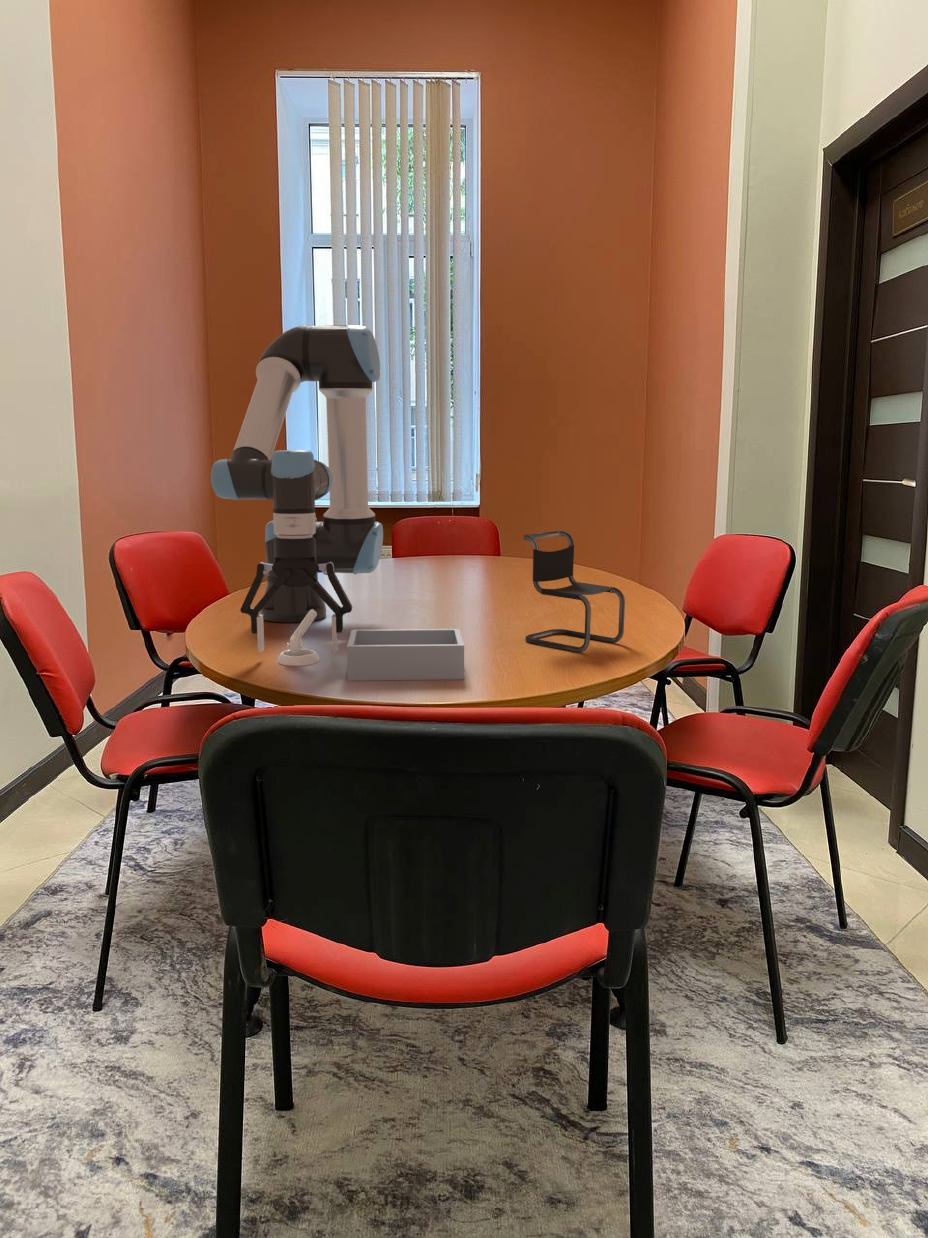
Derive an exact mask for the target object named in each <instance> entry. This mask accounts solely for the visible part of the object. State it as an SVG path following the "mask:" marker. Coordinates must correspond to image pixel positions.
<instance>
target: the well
mask: <svg viewBox="0 0 928 1238" xmlns="http://www.w3.org/2000/svg"><path fill="white" fill-rule="evenodd" d="M346 657H347V658H346V661H347V665H346V669H347V681H349V682H350V681H353V682H355V681H358V682H360V681H425V680H427V681H432V680H435V681H436V680H438V681H439V680H440V681H442V680H446V681H447V680H465V643H464V640H463V637H462V633H461V630H460V629H459V628H419V629H418V628H417V629H416V628H414V629H413V628H411V629H410V628H409V629H408V628H404V629H401V628H400V629H397V628H396V629H393V628H392V629H391V628H390V629H388V628H387V629H385V628H384V629H383V628H382V629H351V630H350V634H349V638H348V641H347V645H346Z"/></svg>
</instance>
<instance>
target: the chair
mask: <svg viewBox="0 0 928 1238" xmlns="http://www.w3.org/2000/svg"><path fill="white" fill-rule="evenodd" d="M553 537H564V538H566V540H567V543H568V547H566V548H563V549H560V550H553V551H551V550H550V551H543V550H540V549H539V543H538V542H537V539H544V538H553ZM522 538H523V540H524V541H527V542H530V543H531V545H532V547H533V548H532V584H533V586H534V588H535V590H536V591H537V592H538V593H539V594H541V595H544V596H551V597H557V598H565V599H570V600H577V601H578V600H579V601H581V602H582V604H583V605H584V607H585V608H584V609H585V610H584V611H585V612H584V613H585V614H584V632H583V631H582V632H581V631H576V630H575V631H574V630H569V629H564V628H561V629H560V628H556V629H547V630H544V631H540V632H536V633H531V634H530V633H529V634H528V635H526V636H525V637H524V638H525V641H526V642H527V643H529V644H533V645H539V646H543V647H549V648H554V649H558V650H563V649H566V650H565V651H568V650H570V651H569V652H573V651H575V652H574V653H583V652H585V651H586V650H587V649H588V648H589V646H590V642H591V640H593V641H597V642H605V643H610V644H616V643H618V642H620V641H621V640H622V638H623V636H624V632H625V607H626V600H625V599H626V598H625V596H624V593H623V592H622V591H621V589H618V588H617V587H615V586H614V587H613V586H607V585H601V584H595V583H594V584H593V583H586V582H581V581H580V582H579V581H576V579H575V577H574V559H575V558H574V557H575V543H574V539H573V537H572V535H571V534H570V533H569V532H567V531H565V530H564V531H563V530H557V531H555V530H554V531H548V532H547V531H546V532H536V533H527V534H524V535H523V537H522ZM566 578H568V581H569V583H570V585H568V586H563V587H559V588H542V587H541V586H540V582H541V583H542V582H552V581H558V580H562V579H566ZM602 593H609V594H610V593H612V594H615V595H616V596H617V597H618V601H619V606H618V607H619V609H618V610H619V611H618V633H617V635H616V636H615V637H611V636H610V637H609V636H604V635H598V634H592V633H591V623H592V621H591V619H592V608H591V607H592V606H591V603H590V601H589V598H587V597H586V596H592V595H598V594H602ZM552 635H566V636H571V637H577V638H582V639H584V641H583V644H582V645H581V646H575V645H570V644H565V643H560V642H554V641H551V640H550V641H549V640H544V639H540V638H542V637H547V636H548V637H549V636H552Z"/></svg>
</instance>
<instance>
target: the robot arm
mask: <svg viewBox="0 0 928 1238" xmlns="http://www.w3.org/2000/svg"><path fill="white" fill-rule="evenodd" d="M379 355H380V354H379V350H378V345H377V342H376V339H375V336H374V334H373V332H372V330H371V329H370V328H368V327H367V326H365V325H364V326H363V325H353V324H352V325H351V324H345V325H344V324H342V325H339V324H338V325H336V324H335V325H299V326H295V327H292V328H290V329H288V330H286V331H285V332H283V333H281V334H280V335H278V337H276V338H275V339H274V340H273V341H272V342H271V343H270V344H268V346H267V347H266V349H265V350H264V351H263V353H262V354H261V356H260V358H259V359H258V362H257V365H256V369H255V376H256V380H257V381H256V384H255V387H254V390H253V392H252V395H251V398H250V401H249V404H248V407H247V410H246V412H245V416H244V418H243V422H242V425H241V427H240V430H239V433H238V437H237V438H236V442H235V445H234V448H233V450H232V453H231V455H230V458H229V459H228V458H224V459H218V460H216V461H215V462H214V463H213V465H212V467H211V473H210V480H211V481H210V482H211V486H212V489H213V492H214V494H215V495H216V496H217V497H218V498H221V499H224V500H225V499H226V500H227V499H228V500H236V501H239V500H272V511H273V513H272V514H273V518H272V519H273V520H270V521H268V522H267V524H266V525H265V528H264V529H265V533H264V535H265V537H264V539H265V540H264V541H263V542H264V543H265V544H264V546H265V547H264V548H265V562H264V561H260V562H259V563H257V565H256V575H255V577H254V580H253V582H252V584H251V586H250V588H249V590H248V592H247V594H246V596H245V599H244V601H243V603H242V604H241V606H240V607H241V608H240V609H239V611H240V613H242V614H246V615H248V616H250V624H251V626H250V627H251V628H250V629H251V633H252V634H256V636H257V637H256V638H257V652H258V653H262V652H263V651H264V650H265V631H264V629H265V628H264V621H267V622H273V623H301V622H302V621H303V619H304V618H305V616H306V615H307V614H308V612H309V611H310V610H311V609H313V610H314V611H316V613H317V616H316V617H315V619H314V621H318V620H321V619H324V618H326V617H327V607H328V608H329V609H330V610H331V611H332V612H333V614H332V615H331V643H332V644H331V648H332V650H331V651H332V652H337V651H338V634H339V633H340V634H341V633H342V632H343V631H344V615H345V614H348V613H351V612H352V611H353V604H352V603H351V601H350V599H349V596H348V595H347V593H346V591H345V590H344V588H343V586H342V584H341V582H340V580H339V579H338V577H337V574H353V575H357V574H371V573H372V572H374V571H375V570H376V569H377V568H378V565H379V562H380V559H381V555H382V550H383V542H384V527H383V524H382V523H381V522H379V521H376V513H375V511H373V510H372V509H371V508H370V506H369V491H368V489H369V488H368V485H369V484H368V483H369V482H368V448H367V444H368V443H367V437H368V436H367V404H366V398H367V397H368V396H369V395H370V393H371V392H372V391H373V383H376V382H378V381H379V380H380V378H381V377H380V375H381V374H380V373H381V372H380V370H381V363H380V356H379ZM303 382H318V391H319V392H320V393H321V394H322V395H323V396H324V397H325V399H326V403H325V404H326V428H327V429H326V430H327V433H326V434H327V456H328V457H327V458H328V459H327V460H328V466H327V464H325V463H324V462H322V461H319V460H318V459H314V458H315V457H314V453H313V452H312V451H311V450H305V449H303V450H300V449H298V450H296V449H295V450H293V449H291V450H290V449H288V450H286V449H285V450H282V449H281V450H280V449H278V450H275V449H276V445H277V443H278V438H279V436H280V433H281V430H282V426H283V423H284V420H285V417H286V413H287V410H288V408H289V404H290V403H291V402H290V400H291V398H292V395H293V393H295V392H296V391H298V389H299V388H300V386H301V383H303ZM328 493H329V508H328V509H327V510H326V512H324V513H323V521H318V518H317V516H316V501H318V500H319V499H321V498H324V496H326V495H328ZM318 573H319V574H320V573H321V574H323V575H325V576H327V579H328V581H329V582H330V584H331V586H332V588H333V590H334V591H335V594H336V595H337V598H338V599H339V601H340V603H341V605H342V606H340V604H338V602H337V601H336V600H335V599H334V598H333V596H331V594H330V593H329V592H328V591H327V590H326V589H325V588H324V587H323V585H322V584H321V582H319V579H318V578H319V577H318V576H319V575H318ZM265 576H266V586H265V590H264V594H263V596H262V597H261V599H260V600H259V601H258V603H257V604H256V605H255V606H254V607H253V606H251V605H252V603H253V601H254V599H255V598H256V596H257V593H258V591H259V589H260V587H261V584H262V582H263V581H264V578H265ZM259 613H260V614H259Z"/></svg>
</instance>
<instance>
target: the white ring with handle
mask: <svg viewBox="0 0 928 1238" xmlns="http://www.w3.org/2000/svg"><path fill="white" fill-rule="evenodd" d="M316 616H317V613H316V611H314V610H313V609H311V610H310V611H309V612H308V614H307V615H306V616H305V618H304V619H303V621H302V622H300V624H299V625H298V627H297V628H296V629H295V630H294V632H293V633H292V635H291V637H290V639H289V642H288V641H287V643H286V645H287V648H290V649H286V650H283V651H281V652H280V654H279V655H278V658H277V663H278V664H280V665H284V666H293V667H294V666H295V667H296V666H309V665H313V664H316V663H318V662H320V658H319V655H318V652H316V650H314V649H309V648H303V647H304V646H305V645H304V643H303V641H302V638H303V636H304V635H305V634H306V632H307V630H308V629H309V628H310V626H311V625H312V623H313V622H314V621H315V620H314V619H315V617H316Z"/></svg>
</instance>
